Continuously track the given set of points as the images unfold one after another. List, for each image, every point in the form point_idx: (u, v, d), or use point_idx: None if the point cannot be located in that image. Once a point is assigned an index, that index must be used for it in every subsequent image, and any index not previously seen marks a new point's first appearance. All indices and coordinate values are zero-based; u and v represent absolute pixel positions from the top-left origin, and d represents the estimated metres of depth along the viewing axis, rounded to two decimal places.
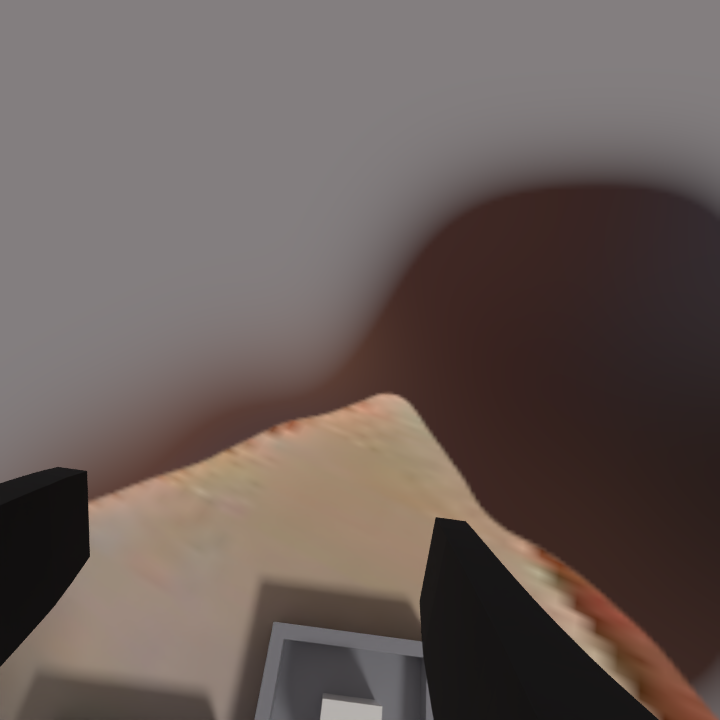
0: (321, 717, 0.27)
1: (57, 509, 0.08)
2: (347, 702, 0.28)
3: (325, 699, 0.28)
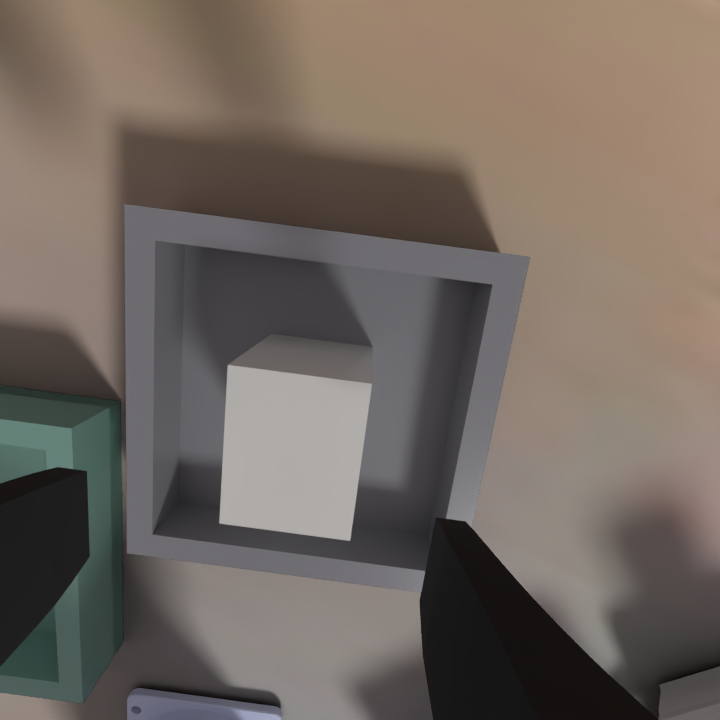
0: (228, 398, 0.12)
1: (57, 509, 0.08)
2: (288, 373, 0.11)
3: (235, 366, 0.12)
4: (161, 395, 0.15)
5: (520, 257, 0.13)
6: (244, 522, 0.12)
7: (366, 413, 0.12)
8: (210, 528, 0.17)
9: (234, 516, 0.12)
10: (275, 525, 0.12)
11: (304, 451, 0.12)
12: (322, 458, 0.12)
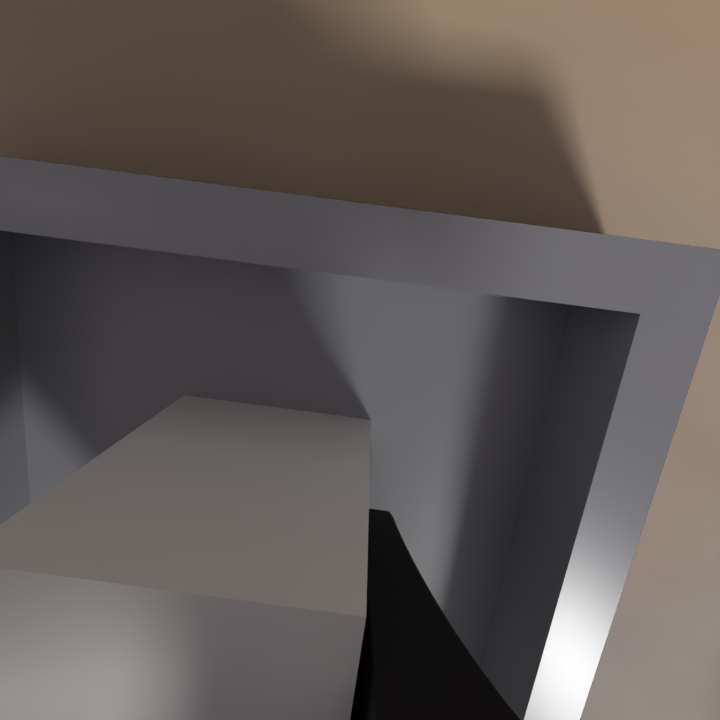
0: None
1: None
2: (127, 580, 0.04)
3: None
4: None
5: (709, 252, 0.06)
6: None
7: (350, 687, 0.04)
8: None
9: None
10: None
11: None
12: None
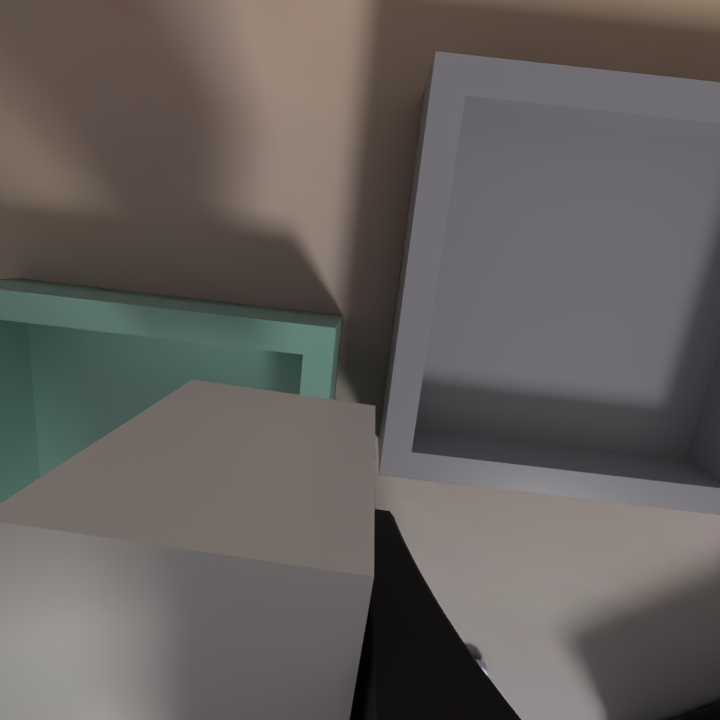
0: None
1: None
2: (146, 540, 0.04)
3: (6, 517, 0.04)
4: None
5: None
6: None
7: (357, 646, 0.04)
8: (463, 448, 0.15)
9: None
10: None
11: None
12: None
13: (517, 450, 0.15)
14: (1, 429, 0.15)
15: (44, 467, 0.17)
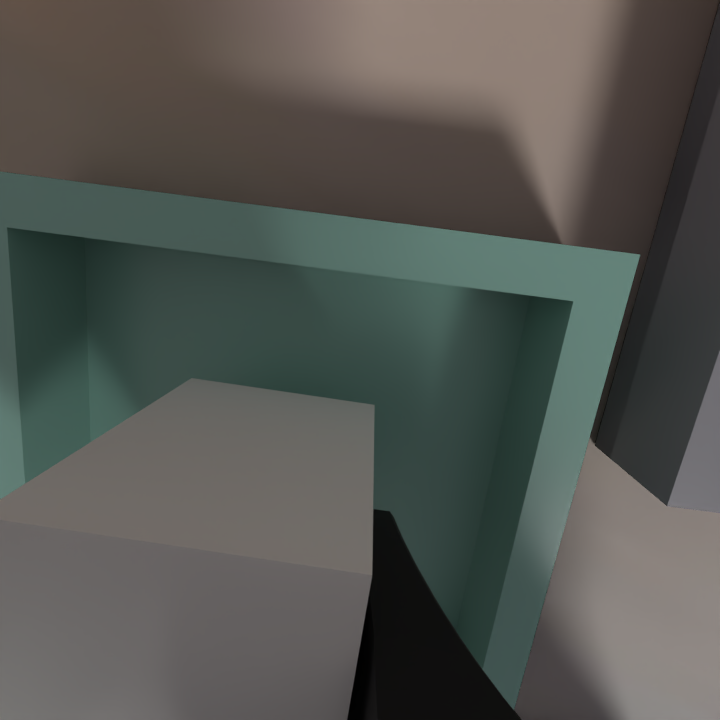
0: None
1: None
2: (144, 538, 0.04)
3: (3, 515, 0.04)
4: None
5: None
6: None
7: (356, 644, 0.04)
8: None
9: None
10: None
11: None
12: None
13: None
14: (44, 421, 0.10)
15: None
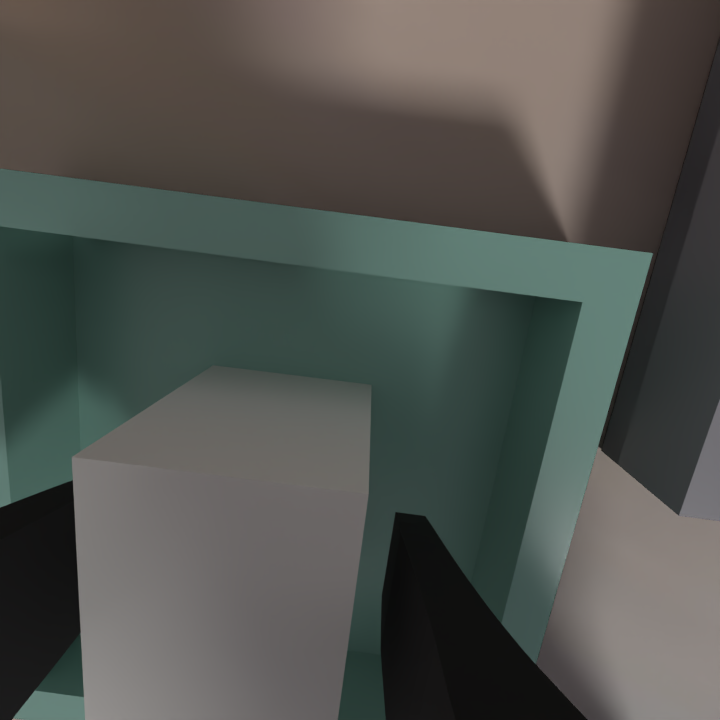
0: (79, 520, 0.06)
1: None
2: (197, 471, 0.06)
3: (91, 457, 0.06)
4: None
5: None
6: None
7: (357, 549, 0.06)
8: None
9: None
10: None
11: (236, 618, 0.06)
12: (273, 630, 0.06)
13: None
14: (30, 427, 0.09)
15: None
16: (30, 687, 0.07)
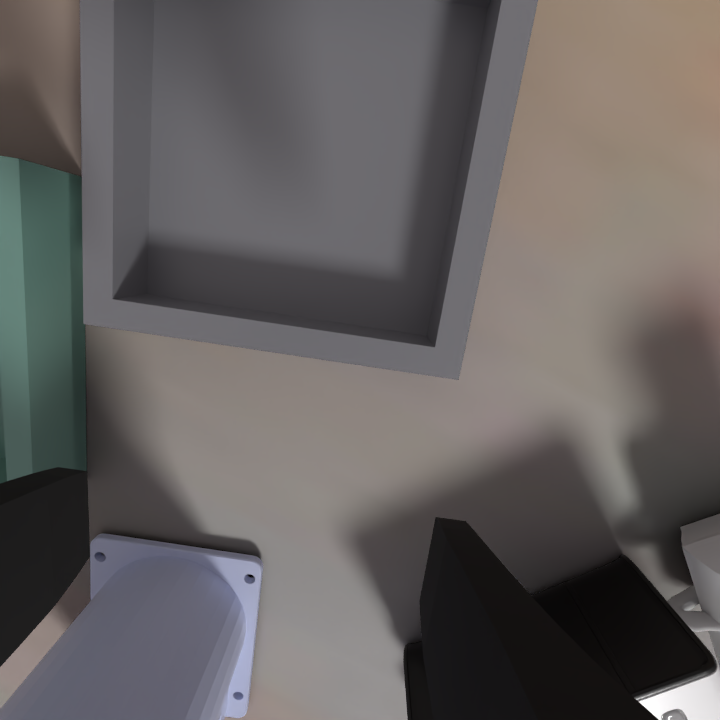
0: None
1: (57, 509, 0.08)
2: None
3: None
4: (124, 126, 0.13)
5: None
6: None
7: None
8: (180, 305, 0.15)
9: None
10: None
11: None
12: None
13: (242, 312, 0.15)
14: None
15: None
16: None
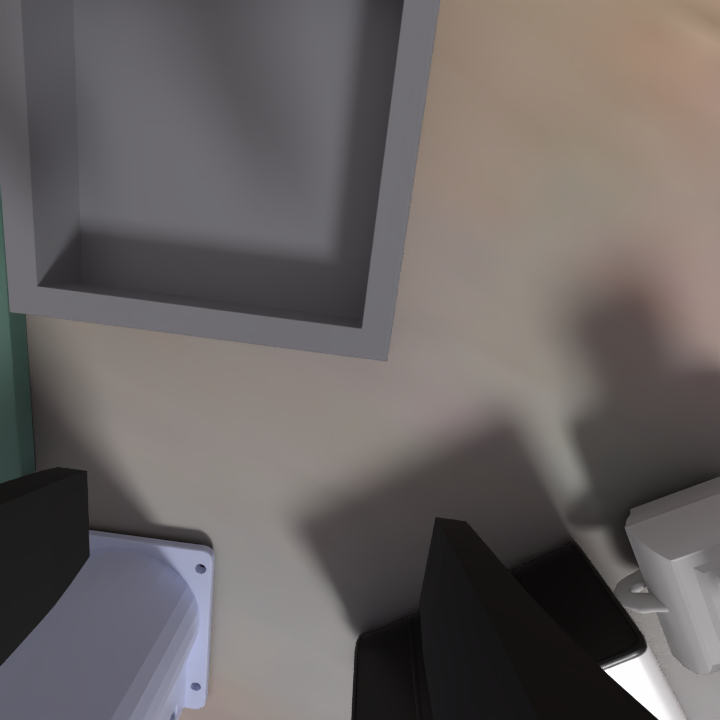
0: None
1: (57, 509, 0.08)
2: None
3: None
4: (41, 111, 0.13)
5: None
6: None
7: None
8: (109, 292, 0.15)
9: None
10: None
11: None
12: None
13: (173, 298, 0.15)
14: None
15: None
16: None
